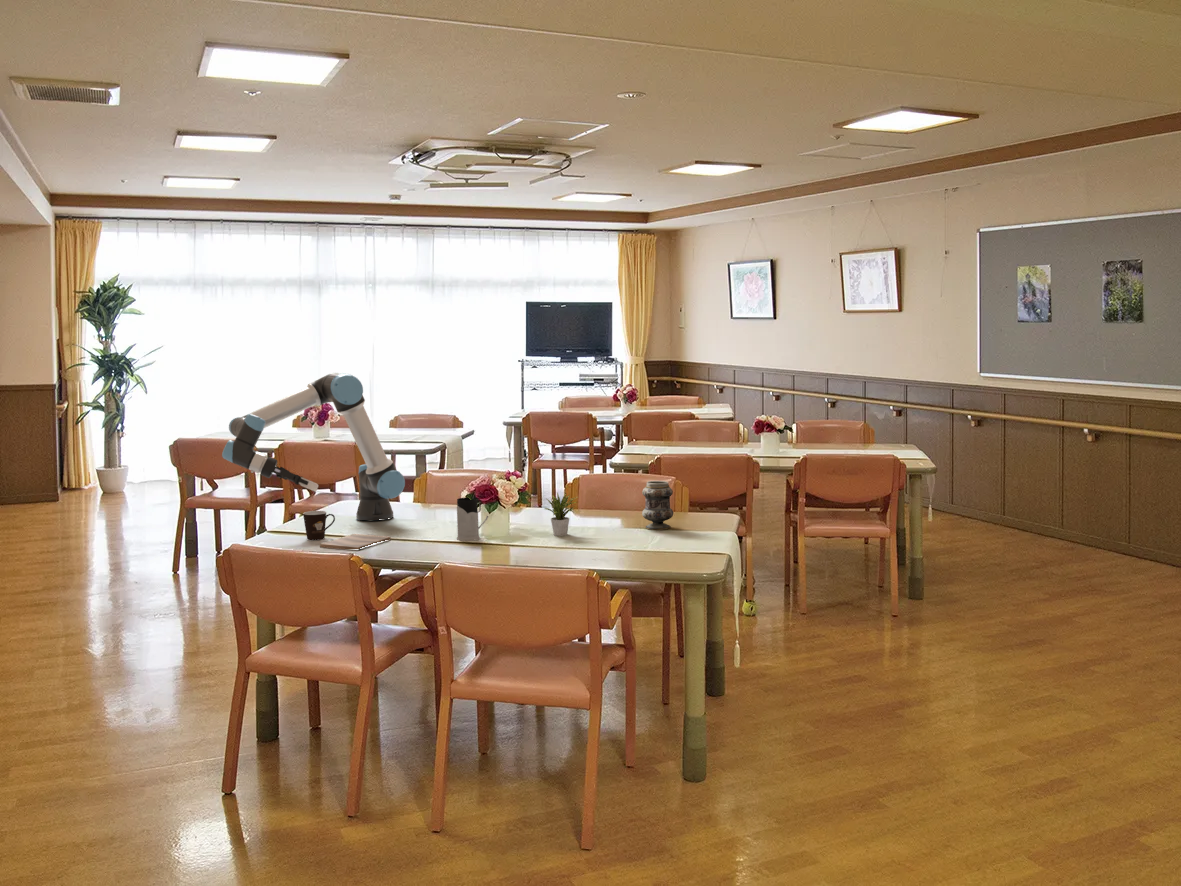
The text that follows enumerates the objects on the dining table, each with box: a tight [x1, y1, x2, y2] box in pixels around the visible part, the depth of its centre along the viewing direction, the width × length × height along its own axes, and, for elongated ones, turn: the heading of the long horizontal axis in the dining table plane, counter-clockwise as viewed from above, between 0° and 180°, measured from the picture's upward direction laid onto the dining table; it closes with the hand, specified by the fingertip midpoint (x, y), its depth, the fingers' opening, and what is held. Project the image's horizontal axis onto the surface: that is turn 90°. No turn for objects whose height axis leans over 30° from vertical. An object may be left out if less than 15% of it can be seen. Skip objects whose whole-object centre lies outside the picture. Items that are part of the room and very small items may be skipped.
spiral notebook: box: [319, 533, 392, 550], centre depth 410 cm, size 20×17×1 cm
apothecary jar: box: [641, 480, 674, 531], centre depth 429 cm, size 12×12×18 cm
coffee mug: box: [302, 510, 336, 541], centre depth 420 cm, size 12×9×10 cm
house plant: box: [544, 492, 578, 537], centre depth 418 cm, size 14×14×16 cm
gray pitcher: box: [456, 497, 489, 542], centre depth 417 cm, size 9×14×15 cm, turn 127°
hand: (317, 488), depth 420 cm, fingers open, 13 cm apart
